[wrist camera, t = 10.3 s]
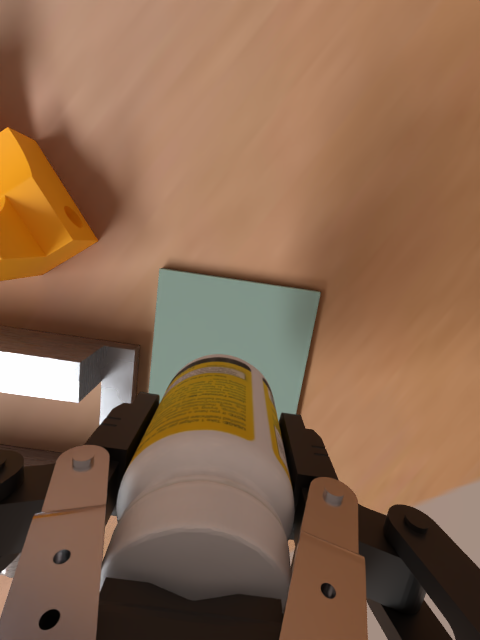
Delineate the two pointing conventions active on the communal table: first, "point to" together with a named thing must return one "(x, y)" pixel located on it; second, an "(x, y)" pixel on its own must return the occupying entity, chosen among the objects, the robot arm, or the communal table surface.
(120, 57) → the communal table surface
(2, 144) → the pipe clamp
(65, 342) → the vise
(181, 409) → the supplement bottle
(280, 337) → the mat
